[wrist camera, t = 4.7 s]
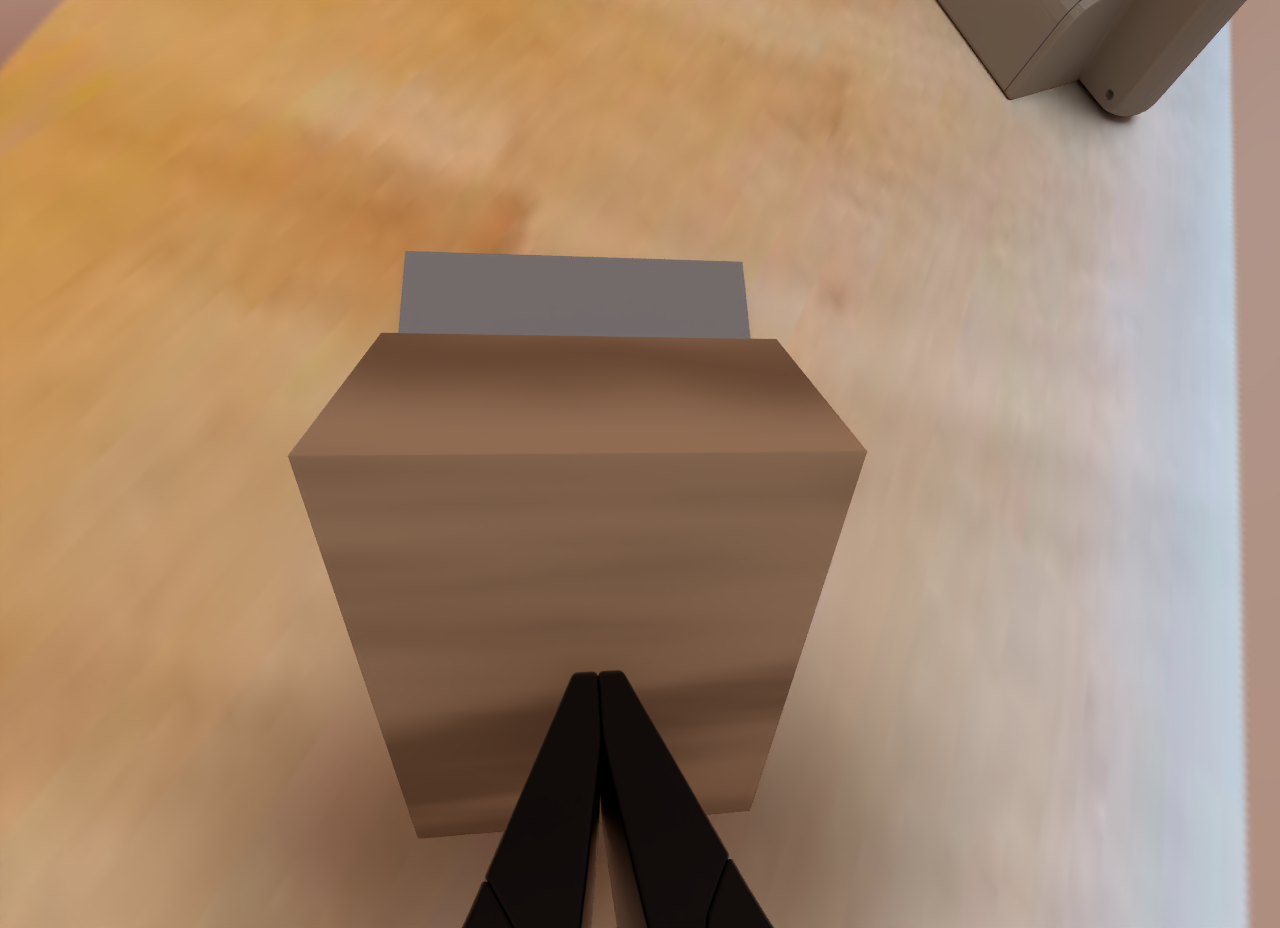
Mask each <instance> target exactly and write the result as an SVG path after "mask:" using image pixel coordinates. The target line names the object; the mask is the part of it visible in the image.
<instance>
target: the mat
mask: <svg viewBox="0 0 1280 928" xmlns="http://www.w3.org/2000/svg"><path fill="white" fill-rule="evenodd" d="M399 333H423V334H485V335H548V336H610V337H673V338H736V339H750V330H749V321H748V312H747V302H746V293H745V284H744V274H743V265H742V262H727V261H696V260H665V259H634V258H603V257H572V256H541V255H509V254H478V253H447V252H416V251H405V263H404V275H403V287H402V298H401V310H400V322H399Z"/></svg>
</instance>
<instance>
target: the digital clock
mask: <svg viewBox="0 0 1280 928" xmlns="http://www.w3.org/2000/svg"><path fill="white" fill-rule="evenodd" d="M1245 1H1246V0H938V2H939V3H940V4H941V6H942V7H943V8H944V10H945V11H946V13H947V14H948V15H949V17H950V18H951V20H952V21H953V22H954V24H955V25H956V26H957V28H958V29H959V31H960V32H961V33H962V35H963V36H964V37H965V39H966V40H967V42H968V43H969V44H970V46H971V47H972V48H973V50H974V51H975V53H976V54H977V55H978V57H979V58H980V59H981V61H982V62H983V64H984V65H985V66H986V68H987V69H988V71H989V72H990V73H991V75H992V76H993V77H994V79H995V80H996V82H997V83H998V84H999V86H1000V87H1001V88H1002V90H1003V91H1004V92H1005V94H1006V95H1007V97H1008V98H1009V99H1016V98H1020V97H1023V96H1027V95H1030V94H1034V93H1037V92H1040V91H1044V90H1047V89H1051V88H1054V87H1057V86H1061V85H1064V84H1068V83H1071V82H1074V81H1078V80H1080V81H1081V82H1082V83H1083V84H1084V86H1085V87H1086V88H1087V89H1088V91H1089V92H1090V93H1091V94H1092V96H1093V97H1094V98H1095V99H1096V101H1097V102H1098V103H1099V104H1100V105H1101V106H1102V108H1103V109H1105V110H1106V111H1107V112H1109V113H1112V114H1115V115H1118V116H1123V117H1127V116H1133V115H1137V114H1140V113H1142V112H1144V111H1146V110H1148V109H1149V108H1150V107H1151V106H1153V105H1154V104H1155V103H1156V102H1157V101H1158V99H1159V98H1160V97H1161V96H1162V95H1163V94H1164V93H1165V92H1166V91H1167V90H1168V88H1169V87H1170V86H1171V85H1172V84H1173V83H1174V82H1175V80H1176V79H1177V78H1178V77H1179V76H1180V75H1181V74H1182V73H1183V71H1184V70H1185V69H1186V68H1187V67H1188V66H1189V65H1190V63H1191V62H1192V61H1193V60H1194V59H1195V58H1196V57H1197V56H1198V54H1199V53H1200V52H1201V51H1202V50H1203V49H1204V48H1205V47H1206V45H1207V44H1208V43H1209V42H1210V41H1211V40H1212V39H1213V37H1214V36H1215V35H1216V34H1217V33H1218V32H1219V31H1220V30H1221V28H1222V27H1223V26H1224V25H1225V24H1226V23H1227V22H1228V21H1229V19H1230V18H1231V17H1232V16H1233V15H1234V14H1235V13H1236V11H1237V10H1238V9H1239V8H1240V7H1241V6H1242V5H1243V4H1244V2H1245ZM1032 56H1033V57H1032ZM1028 61H1029V62H1028ZM1024 66H1025V67H1024Z"/></svg>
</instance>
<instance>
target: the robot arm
mask: <svg viewBox="0 0 1280 928" xmlns="http://www.w3.org/2000/svg"><path fill="white" fill-rule="evenodd" d="M600 803H601V816H602V824H603V832H604V839H605V846H606V853H607V860H608V867H609V873H610V880H611V887H612V894H613V901H614V908H615V915H616V922H617V928H774V927H773V925H772V924H771V923H770V921H769V919H768V918H767V916H766V914H765V913H764V911H763V910H762V908H761V906H760V905H759V903H758V902H757V900H756V898H755V897H754V895H753V893H752V892H751V890H750V889H749V887H748V885H747V884H746V882H745V880H744V878H743V877H742V875H741V873H740V872H739V870H738V868H737V866H736V865H735V863H734V861H733V860H732V859H729V853H728V851H727V850H726V848H725V846H724V844H723V843H722V841H721V839H720V837H719V836H718V834H717V832H716V831H715V829H714V827H713V825H712V824H711V822H710V820H709V818H708V817H707V815H706V813H705V812H704V810H703V808H702V806H701V805H700V803H699V801H698V799H697V798H696V796H695V794H694V792H693V791H692V789H691V787H690V786H689V784H688V782H687V780H686V779H685V777H684V775H683V773H682V772H681V770H680V768H679V767H678V765H677V763H676V761H675V760H674V758H673V756H672V754H671V753H670V751H669V749H668V748H667V746H666V744H665V742H664V741H663V739H662V737H661V735H660V734H659V732H658V730H657V729H656V727H655V725H654V723H653V722H652V720H651V718H650V716H649V715H648V713H647V711H646V710H645V708H644V706H643V704H642V703H641V701H640V699H639V697H638V696H637V694H636V692H635V691H634V689H633V687H632V685H631V684H630V682H629V680H628V678H627V677H626V675H625V674H624V672H623V671H621V670H610V671H601V672H600V673H599V674H598V675H597V673H596V672H593V671H591V672H576V673H574V674H573V675H572V676H571V678H570V680H569V683H568V685H567V687H566V690H565V692H564V694H563V697H562V699H561V701H560V704H559V706H558V708H557V710H556V713H555V715H554V717H553V720H552V722H551V724H550V727H549V729H548V731H547V734H546V736H545V738H544V741H543V743H542V745H541V748H540V750H539V752H538V755H537V757H536V759H535V762H534V764H533V766H532V768H531V771H530V773H529V775H528V778H527V780H526V782H525V785H524V787H523V789H522V792H521V794H520V796H519V799H518V801H517V803H516V806H515V808H514V810H513V813H512V815H511V817H510V820H509V822H508V824H507V826H506V829H505V831H504V833H503V836H502V838H501V840H500V843H499V845H498V847H497V850H496V852H495V854H494V857H493V859H492V861H491V864H490V866H489V868H488V871H487V873H486V875H485V881H484V882H482V884H481V886H480V888H479V891H478V893H477V895H476V898H475V900H474V902H473V905H472V907H471V909H470V911H469V914H468V916H467V918H466V920H465V922H464V924H463V927H462V928H591V924H592V912H593V899H594V886H595V874H596V861H597V848H598V836H599V820H600Z"/></svg>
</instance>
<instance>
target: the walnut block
mask: <svg viewBox="0 0 1280 928" xmlns="http://www.w3.org/2000/svg"><path fill="white" fill-rule="evenodd" d="M866 453H867V451H866V449H865V448H864V447H863V446H862V444H861V443H860V442H859V441H858V439H857V438H856V437H855V436H854V435H853V433H852V432H851V431H850V430H849V428H848V427H847V426H846V425H845V423H844V422H843V421H842V420H841V418H840V417H839V416H838V415H837V414H836V412H835V411H834V410H833V409H832V407H831V406H830V405H829V404H828V402H827V401H826V400H825V399H824V397H823V396H822V395H821V394H820V393H819V391H818V390H817V389H816V388H815V386H814V385H813V384H812V383H811V381H810V380H809V379H808V378H807V376H806V375H805V374H804V373H803V372H802V370H801V369H800V368H799V367H798V365H797V364H796V363H795V362H794V360H793V359H792V358H791V357H790V355H789V354H788V353H787V352H786V351H785V349H784V348H783V347H782V346H781V344H780V343H779V342H778V341H777V339H736V338H673V337H610V336H548V335H485V334H423V333H381V334H380V335H379V337H378V338H377V339H376V341H375V342H374V343H373V345H372V346H371V347H370V349H369V350H368V351H367V352H366V354H365V355H364V356H363V358H362V359H361V360H360V362H359V363H358V364H357V366H356V367H355V368H354V370H353V371H352V372H351V374H350V375H349V376H348V378H347V379H346V380H345V381H344V383H343V384H342V385H341V387H340V388H339V389H338V391H337V392H336V393H335V395H334V396H333V397H332V399H331V400H330V401H329V403H328V404H327V405H326V406H325V408H324V409H323V410H322V412H321V413H320V414H319V416H318V417H317V418H316V420H315V421H314V422H313V424H312V425H311V426H310V428H309V429H308V430H307V432H306V433H305V434H304V435H303V437H302V438H301V439H300V441H299V442H298V443H297V445H296V446H295V447H294V449H293V450H292V451H291V453H290V454H289V455H288V458H289V460H290V463H291V466H292V469H293V472H294V475H295V478H296V481H297V484H298V487H299V490H300V493H301V496H302V499H303V502H304V505H305V507H306V510H307V513H308V516H309V519H310V522H311V525H312V528H313V531H314V534H315V537H316V540H317V543H318V546H319V549H320V552H321V554H322V557H323V560H324V563H325V566H326V569H327V572H328V575H329V578H330V581H331V584H332V587H333V590H334V593H335V596H336V599H337V601H338V604H339V607H340V610H341V613H342V616H343V619H344V622H345V625H346V628H347V631H348V634H349V637H350V640H351V643H352V646H353V648H354V651H355V654H356V657H357V660H358V663H359V666H360V669H361V672H362V675H363V678H364V681H365V684H366V687H367V690H368V693H369V695H370V698H371V701H372V704H373V707H374V710H375V713H376V716H377V719H378V722H379V725H380V728H381V731H382V734H383V737H384V740H385V742H386V745H387V748H388V751H389V754H390V757H391V760H392V763H393V766H394V769H395V772H396V775H397V778H398V781H399V784H400V786H401V789H402V792H403V795H404V798H405V801H406V804H407V807H408V810H409V813H410V816H411V819H412V822H413V825H414V828H415V831H416V833H417V836H418V838H430V837H442V836H454V835H466V834H478V833H490V832H502V831H505V829H506V826H507V824H508V822H509V820H510V817H511V815H512V813H513V810H514V808H515V806H516V803H517V801H518V799H519V796H520V794H521V792H522V789H523V787H524V785H525V782H526V780H527V778H528V775H529V773H530V771H531V768H532V766H533V764H534V762H535V759H536V757H537V755H538V752H539V750H540V748H541V745H542V743H543V741H544V738H545V736H546V734H547V731H548V729H549V727H550V724H551V722H552V720H553V717H554V715H555V713H556V710H557V708H558V706H559V704H560V701H561V699H562V697H563V694H564V692H565V690H566V687H567V685H568V683H569V680H570V678H571V676H572V675H573V674H574V673H576V672H591V671H593V672H596V673H597V675H598V674H599V673H600V672H601V671H610V670H621V671H623V672H624V674H625V675H626V677H627V678H628V680H629V682H630V684H631V685H632V687H633V689H634V691H635V692H636V694H637V696H638V697H639V699H640V701H641V703H642V704H643V706H644V708H645V710H646V711H647V713H648V715H649V716H650V718H651V720H652V722H653V723H654V725H655V727H656V729H657V730H658V732H659V734H660V735H661V737H662V739H663V741H664V742H665V744H666V746H667V748H668V749H669V751H670V753H671V754H672V756H673V758H674V760H675V761H676V763H677V765H678V767H679V768H680V770H681V772H682V773H683V775H684V777H685V779H686V780H687V782H688V784H689V786H690V787H691V789H692V791H693V792H694V794H695V796H696V798H697V799H698V801H699V803H700V805H701V806H702V808H703V810H704V812H705V813H706V814H718V813H730V812H742V811H750V808H751V805H752V802H753V799H754V796H755V793H756V790H757V787H758V783H759V780H760V777H761V774H762V771H763V768H764V765H765V762H766V759H767V756H768V753H769V750H770V747H771V744H772V741H773V738H774V735H775V731H776V728H777V725H778V722H779V719H780V716H781V713H782V710H783V707H784V704H785V701H786V698H787V695H788V692H789V689H790V686H791V683H792V680H793V676H794V673H795V670H796V667H797V664H798V661H799V658H800V655H801V652H802V649H803V646H804V643H805V640H806V637H807V634H808V631H809V628H810V624H811V621H812V618H813V615H814V612H815V609H816V606H817V603H818V600H819V597H820V594H821V591H822V588H823V585H824V582H825V579H826V576H827V573H828V569H829V566H830V563H831V560H832V557H833V554H834V551H835V548H836V545H837V542H838V539H839V536H840V533H841V530H842V527H843V524H844V521H845V517H846V514H847V511H848V508H849V505H850V502H851V499H852V496H853V493H854V490H855V487H856V484H857V481H858V478H859V475H860V472H861V469H862V465H863V462H864V459H865V456H866ZM599 823H602V816H601V803H600V820H599Z"/></svg>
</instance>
